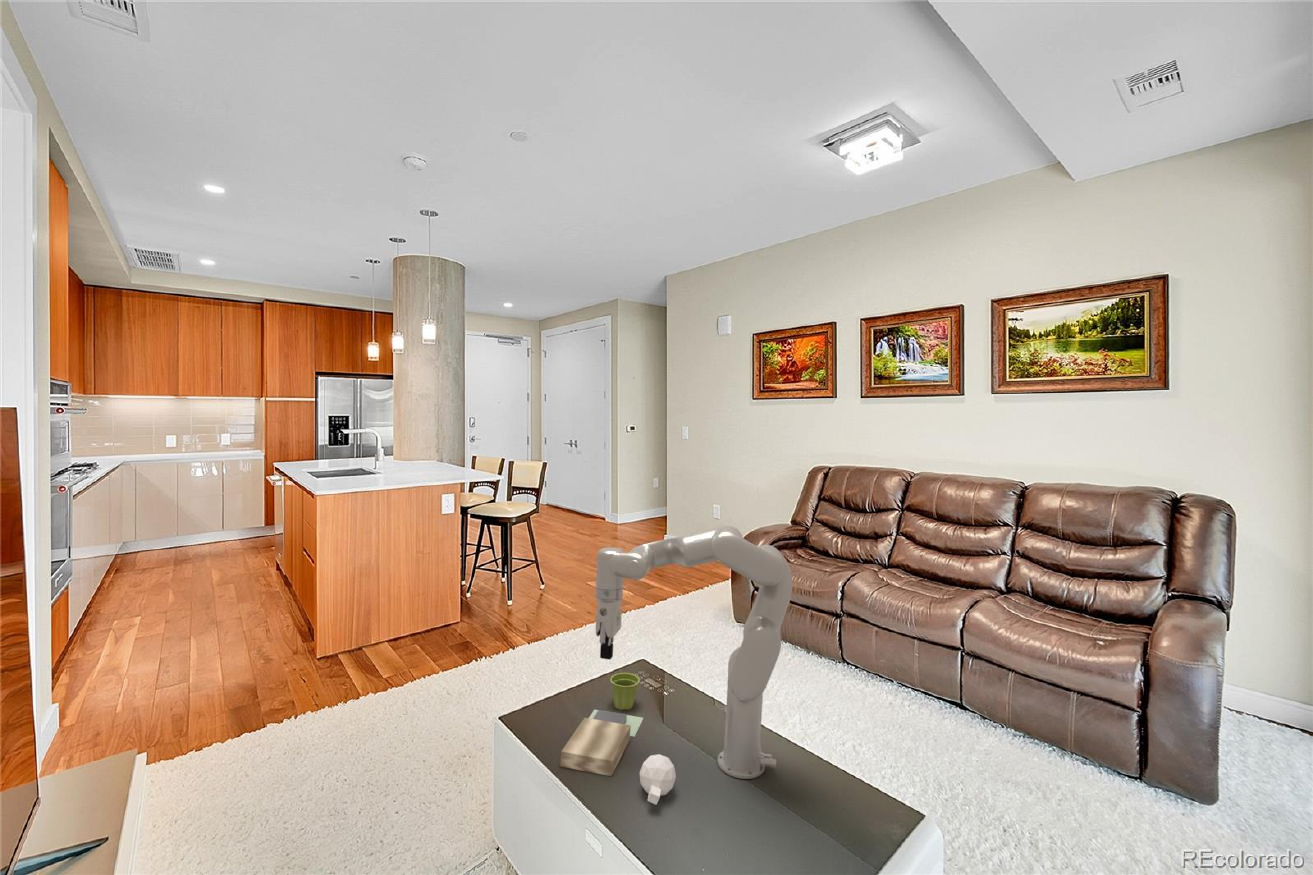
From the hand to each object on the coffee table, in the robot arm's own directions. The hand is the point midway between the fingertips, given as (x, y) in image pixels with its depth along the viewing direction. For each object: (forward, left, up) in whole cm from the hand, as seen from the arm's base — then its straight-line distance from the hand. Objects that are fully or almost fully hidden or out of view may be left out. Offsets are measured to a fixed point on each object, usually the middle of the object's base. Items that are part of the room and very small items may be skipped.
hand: (606, 657), depth 157 cm
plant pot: (0, -24, -25) cm, 35 cm away
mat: (0, -13, -25) cm, 28 cm away
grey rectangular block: (+1, -12, -23) cm, 26 cm away
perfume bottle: (-19, +16, -25) cm, 35 cm away
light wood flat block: (0, +3, -25) cm, 25 cm away
